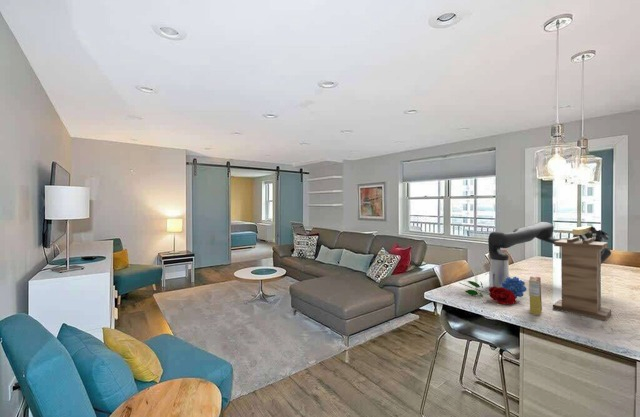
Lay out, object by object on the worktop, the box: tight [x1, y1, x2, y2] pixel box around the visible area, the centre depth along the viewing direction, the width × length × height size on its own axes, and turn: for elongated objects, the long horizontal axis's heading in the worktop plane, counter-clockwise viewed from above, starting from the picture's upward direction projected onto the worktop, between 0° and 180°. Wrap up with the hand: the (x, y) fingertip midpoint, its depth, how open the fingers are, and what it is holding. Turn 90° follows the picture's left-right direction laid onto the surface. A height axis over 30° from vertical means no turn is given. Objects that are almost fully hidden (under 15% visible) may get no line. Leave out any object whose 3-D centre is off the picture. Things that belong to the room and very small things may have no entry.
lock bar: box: [572, 225, 592, 236], centre depth 134 cm, size 24×3×2 cm, turn 128°
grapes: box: [501, 276, 527, 299], centre depth 150 cm, size 12×7×12 cm, turn 38°
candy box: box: [528, 276, 543, 316], centre depth 132 cm, size 9×4×15 cm, turn 140°
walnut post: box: [552, 236, 612, 321], centre depth 131 cm, size 14×18×34 cm
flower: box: [459, 280, 517, 306], centre depth 152 cm, size 9×10×30 cm
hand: (586, 227), depth 139 cm, fingers closed on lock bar, 3 cm apart
